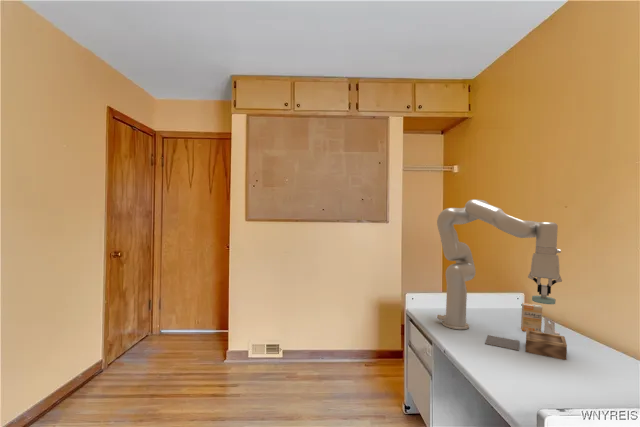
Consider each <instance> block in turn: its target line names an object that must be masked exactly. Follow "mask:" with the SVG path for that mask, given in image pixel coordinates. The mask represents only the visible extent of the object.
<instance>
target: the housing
mask: <svg viewBox="0 0 640 427" xmlns="http://www.w3.org/2000/svg"><path fill="white" fill-rule="evenodd" d="M525 336H526V337H525V353H529V354H535V355H540V356H545V357H549V358H554V359H560V360H564V361H566V360H567V354H568V353H567V352H568V349H567V348H568V344H567V340H566V337H565V336H563V335H560V336H559V335H553V334H547V333H544V332H542V331H541V332H536V331H530V330H526V331H525Z"/></svg>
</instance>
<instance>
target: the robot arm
mask: <svg viewBox="0 0 640 427" xmlns="http://www.w3.org/2000/svg"><path fill="white" fill-rule="evenodd" d="M476 220H480V221H482V222H484V223H487V224H489V225H491V226H493V227H495V228H496V229H498V230H500V231H502V232H504V233H507V234H509V235H510V236H512V237H513V236H514V237H516V238H520V239H526V238H527V239H530V238H531V239H533V238H535V253H533V254H532V257H531V265H530V271H529V273H528V275H527V278H528V279H529V280H532V281H534V283H536V285H537V289H536V290H537V293H538V294H539V295H538V296H541V288H542V285H543V284H542V283H541V279H548V282H547V284H546V285H547V297H549V295H550V294H551V293H552V286H555V284H556V283H557V284H558V283H561V282H562V281H563V279H562V277H561V275H560V258H559V255H557V254H559V253H561V252H562V250H561V249H559V248H558V232H559V231H558V223H556V222H552V221H540V222H538V221H534V220H522V219H521V218H517V217H514V216H512V215H509V214H507V213H505V212H504V210H503V209H502V208H500V207H498V206H495V205H492V204H490V203H489V202H488V201H486V200H483V199H477V198H476V199H475V198H474V199H472V198H471V199H469V200H468V201H467V202H465V205H464V207H447V208H445V209H443V210H442V211H440V213H439V214H438V216H437V220H436V225H437V230H438V233H439V238H440V242H441V247H442V251H443V252H442V253H443V255H444V257H445V259H446V260H447V261H449V262H455V263H452V264H449V266H447V268H446V270H445V280H446V300H445V301H446V304H445V314H444V315H441V314H437V315H436V318H437V319H438V320H441V321H442V322H441V323H442V325H443V326H444V327H446V328H448V329H453V330H458V331H459V330H468V329H469V328H470V324H468V323H467V298H468V297H467V295H468V294H467V293H468V292H467V290H468V289H467V284H466V282H468V281H471V280H473V279H474V278H475V277H476V266H475V263H474V262H475V261H474V258H473V253H472V251H471V248H470V246H469V245H468V244H467V243H465V242H462V241H460V240H459V235H458V232H457V230H456V229H455V226H454V225H465V224H470V223H471V222H474V221H476Z"/></svg>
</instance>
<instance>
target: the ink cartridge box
mask: <svg viewBox="0 0 640 427" xmlns="http://www.w3.org/2000/svg"><path fill="white" fill-rule="evenodd" d="M543 322H544V327H543V328H544V329H543V333H547V334H553V335H559V336H561V334H560V332H558V331H557V330H556V328H555V327H556V326H555V323H556V322H554V321H553V320H551V319H550V318H548V317H546V316H545V315H544V316H543Z"/></svg>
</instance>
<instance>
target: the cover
mask: <svg viewBox="0 0 640 427" xmlns="http://www.w3.org/2000/svg"><path fill="white" fill-rule="evenodd" d="M541 285H542V288H541V295H532V296H531V301H532V302H534V303H537V304H541V305H542V304H543V305H556V299H555V298H553V297H549V296H547V284H541Z"/></svg>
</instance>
